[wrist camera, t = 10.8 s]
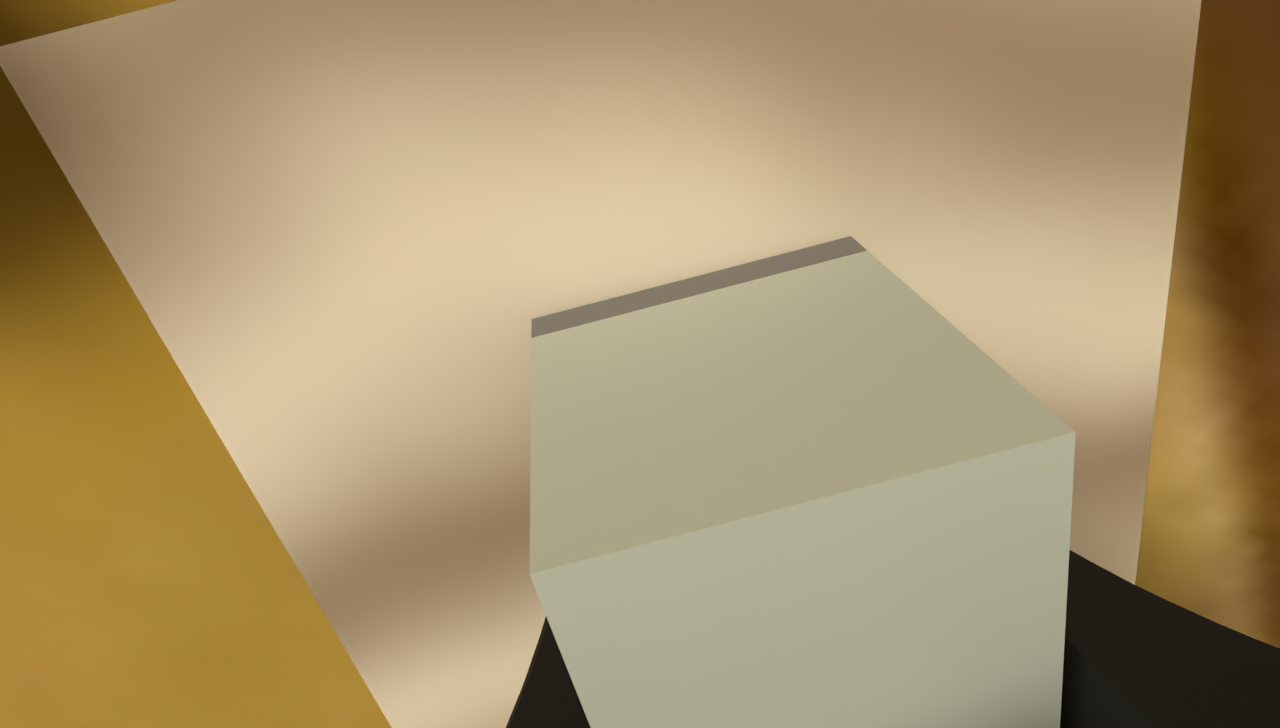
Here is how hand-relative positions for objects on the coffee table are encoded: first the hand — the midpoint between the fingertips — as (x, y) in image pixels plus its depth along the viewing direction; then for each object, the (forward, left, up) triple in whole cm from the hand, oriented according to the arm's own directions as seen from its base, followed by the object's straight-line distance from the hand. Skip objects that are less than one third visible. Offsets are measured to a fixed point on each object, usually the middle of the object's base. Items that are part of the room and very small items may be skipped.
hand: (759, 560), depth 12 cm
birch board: (0, 0, -2) cm, 2 cm away
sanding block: (0, 0, -1) cm, 1 cm away
